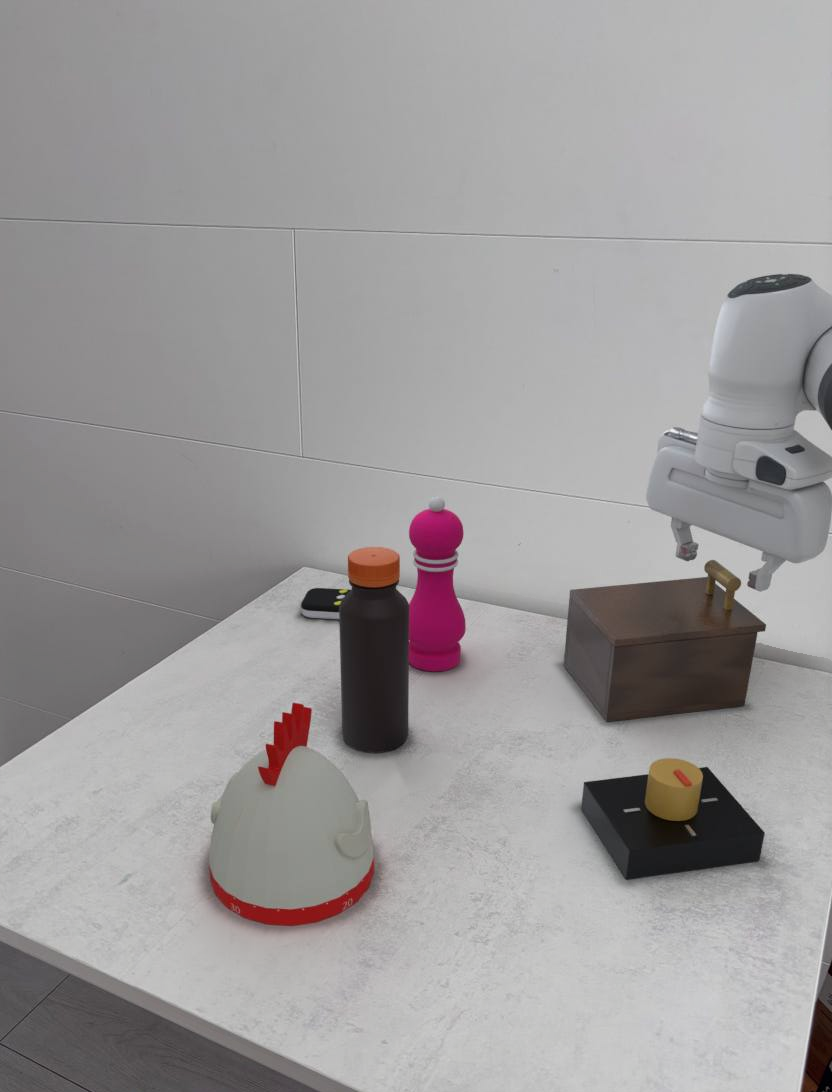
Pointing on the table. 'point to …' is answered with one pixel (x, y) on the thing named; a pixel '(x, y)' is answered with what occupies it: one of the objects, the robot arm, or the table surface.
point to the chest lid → (669, 609)
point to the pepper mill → (435, 590)
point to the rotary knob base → (670, 828)
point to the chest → (657, 671)
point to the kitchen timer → (290, 833)
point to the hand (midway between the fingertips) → (720, 572)
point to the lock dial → (673, 789)
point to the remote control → (323, 603)
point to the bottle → (374, 652)
